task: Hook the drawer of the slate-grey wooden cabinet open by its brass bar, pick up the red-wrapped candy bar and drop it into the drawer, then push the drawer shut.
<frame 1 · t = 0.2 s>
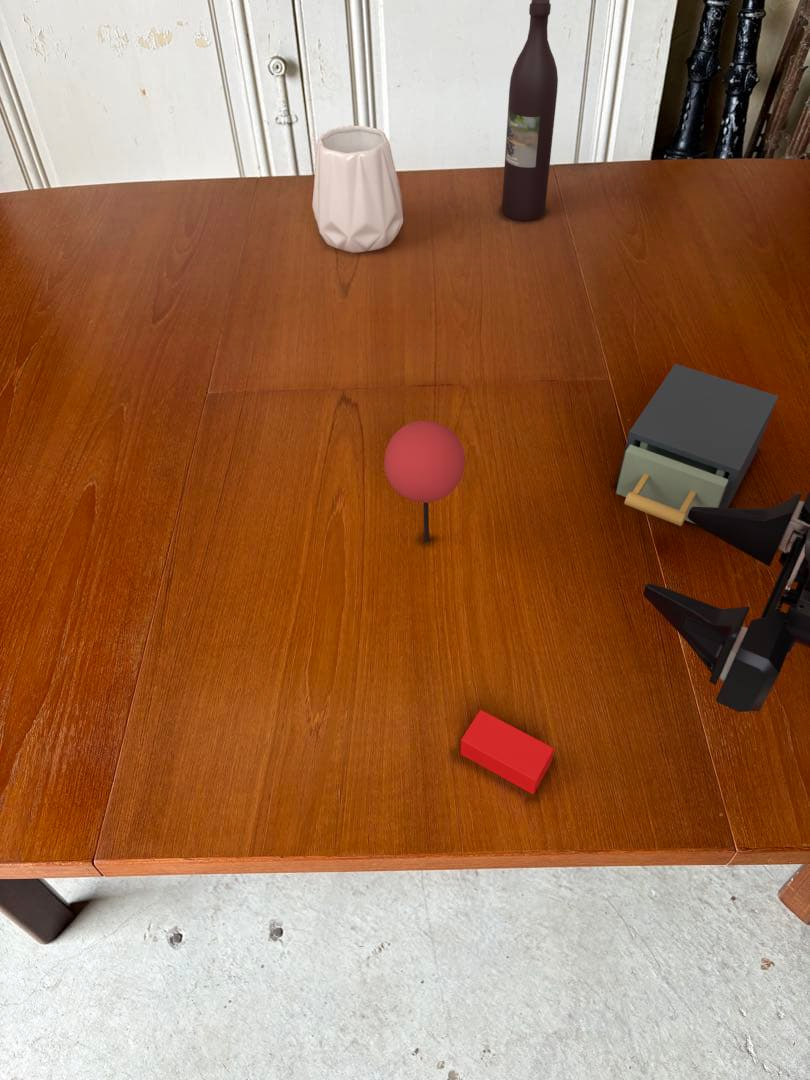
hand: (668, 548, 62), 18 cm above the table, tool horizontal, fingers open, 9 cm apart
drawer: (680, 468, 87), point 4 cm above the table, slide at 0.8 cm
wine bottle: (523, 212, 134), on the table
vase: (359, 237, 130), on the table
cabinet: (687, 468, 93), on the table
candy bar: (505, 758, 70), on the table
lollipop: (425, 540, 87), on the table
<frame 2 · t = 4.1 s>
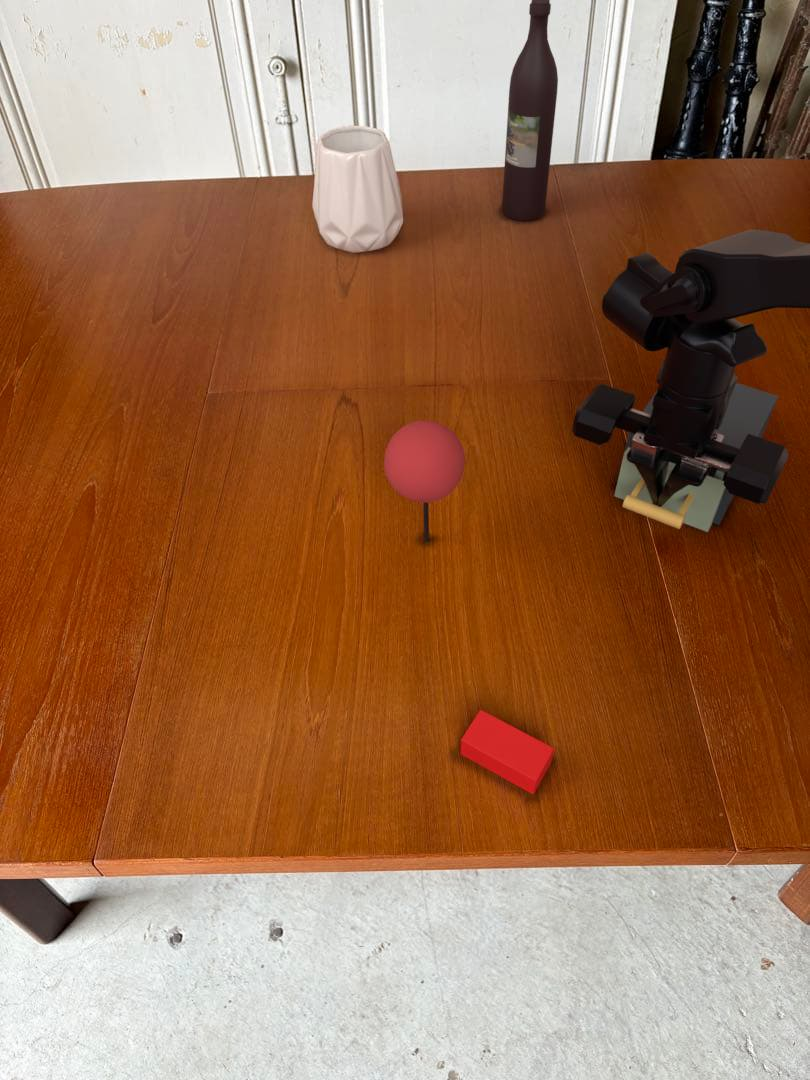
hand: (658, 503, 82), 5 cm above the table, tool pointing down, fingers closed, pressing on drawer
drawer: (679, 470, 87), point 4 cm above the table, slide at 1.3 cm, touching gripper
everything else where it was.
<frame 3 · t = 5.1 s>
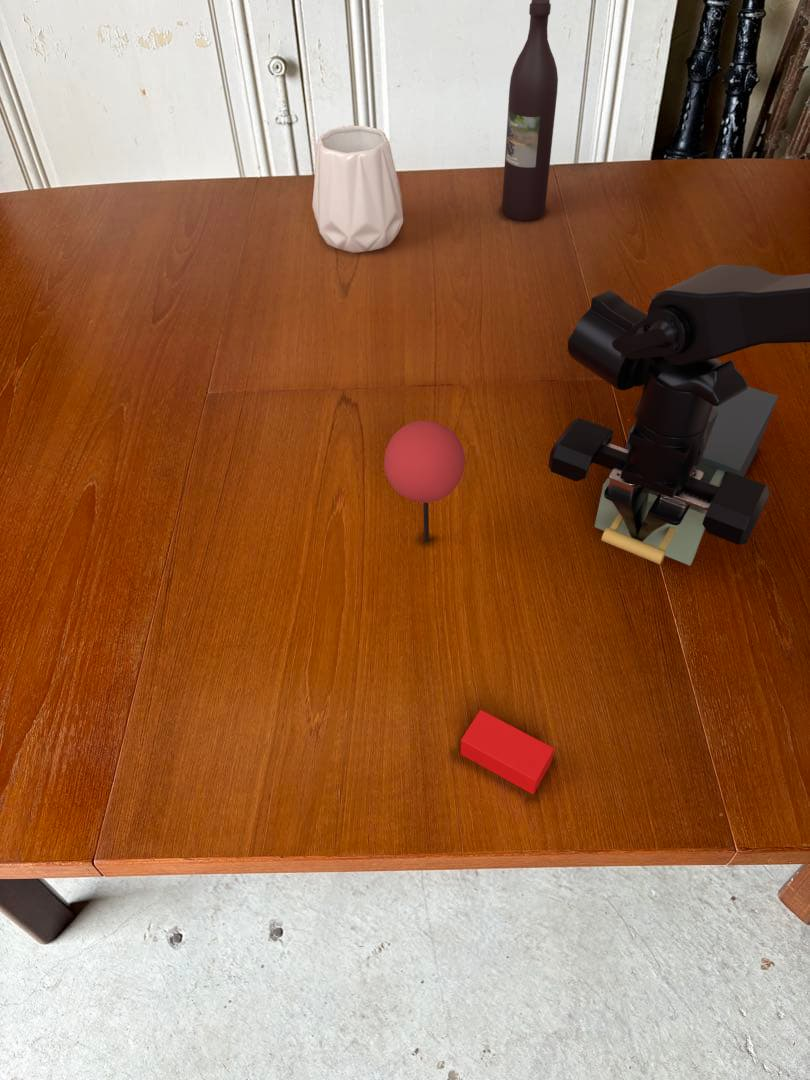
hand: (638, 539, 80), 5 cm above the table, tool pointing down, fingers closed, pressing on drawer
drawer: (661, 501, 84), point 4 cm above the table, slide at 6.6 cm, touching gripper
everything else where it was.
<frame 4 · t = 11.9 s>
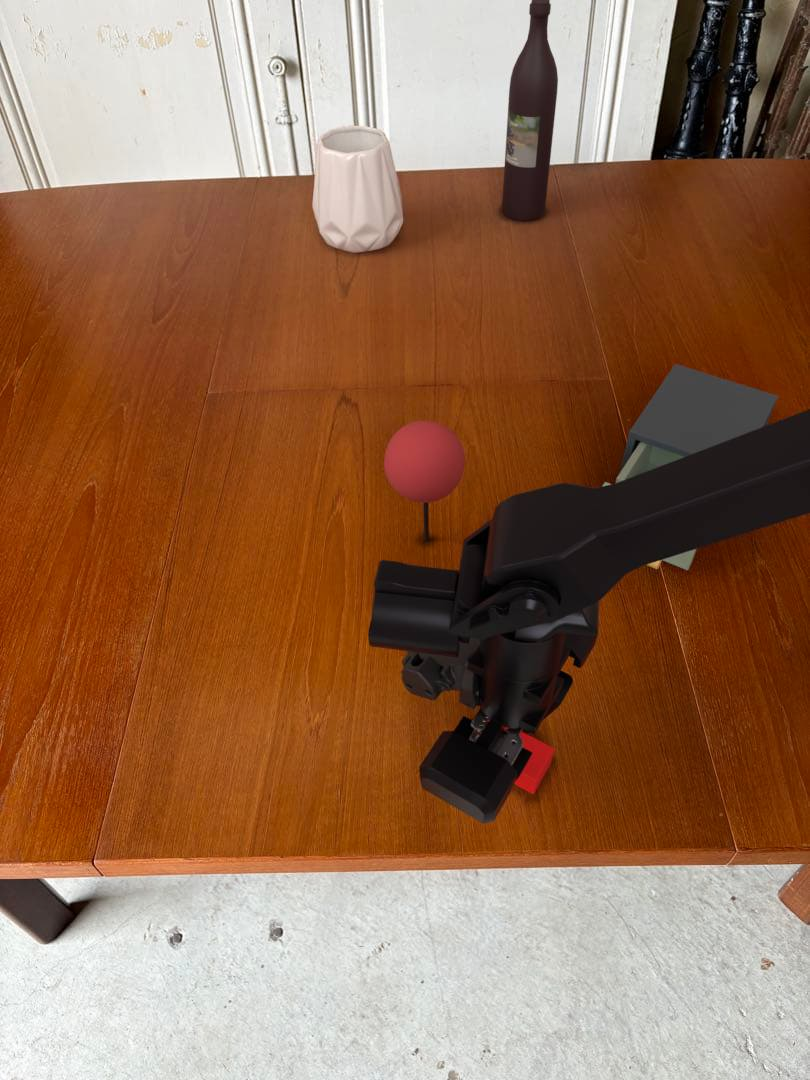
hand: (506, 751, 69), 1 cm above the table, tool pointing down, fingers closed on candy bar, 3 cm apart
drawer: (658, 505, 83), point 4 cm above the table, slide at 7.3 cm
candy bar: (505, 758, 70), on the table, touching gripper
everything else where it was.
when the fingers open (6 cm above the table, at t = 18.0 s): candy bar drops 3 cm, resting on drawer.
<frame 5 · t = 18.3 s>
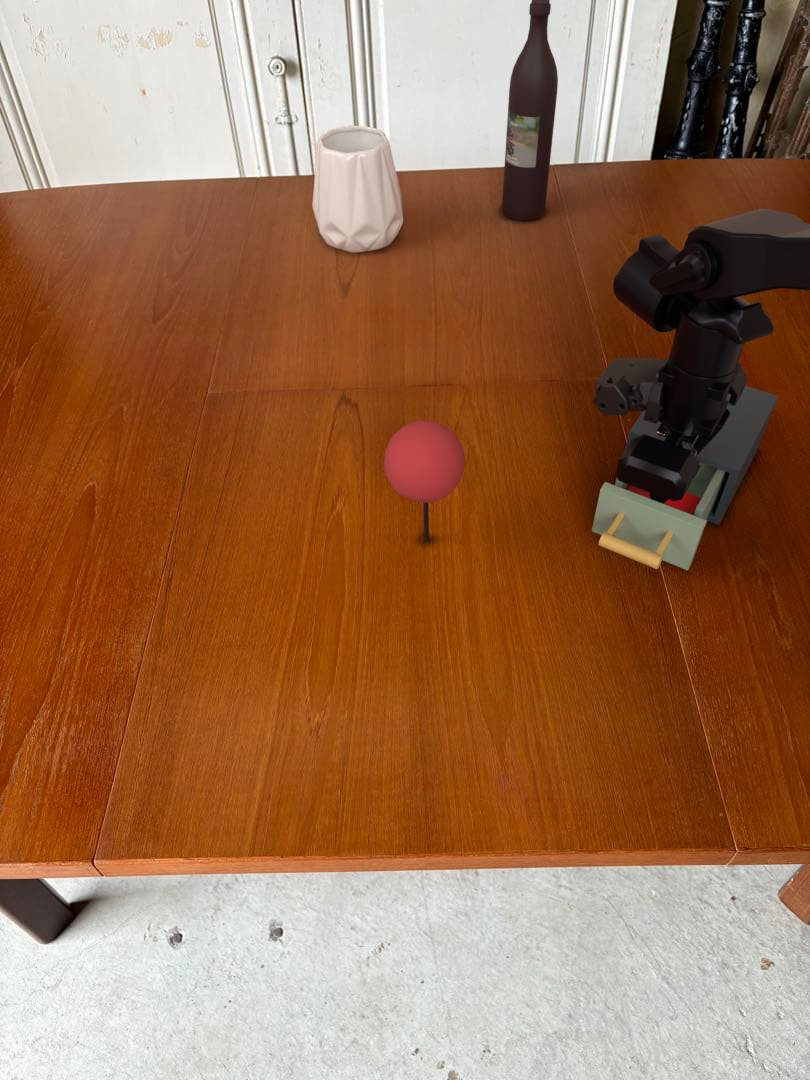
hand: (665, 487, 82), 6 cm above the table, tool pointing down, fingers open, 5 cm apart
drawer: (658, 505, 83), point 4 cm above the table, slide at 7.3 cm, touching candy bar
candy bar: (657, 512, 85), point 2 cm above the table, touching drawer
everything else where it was.
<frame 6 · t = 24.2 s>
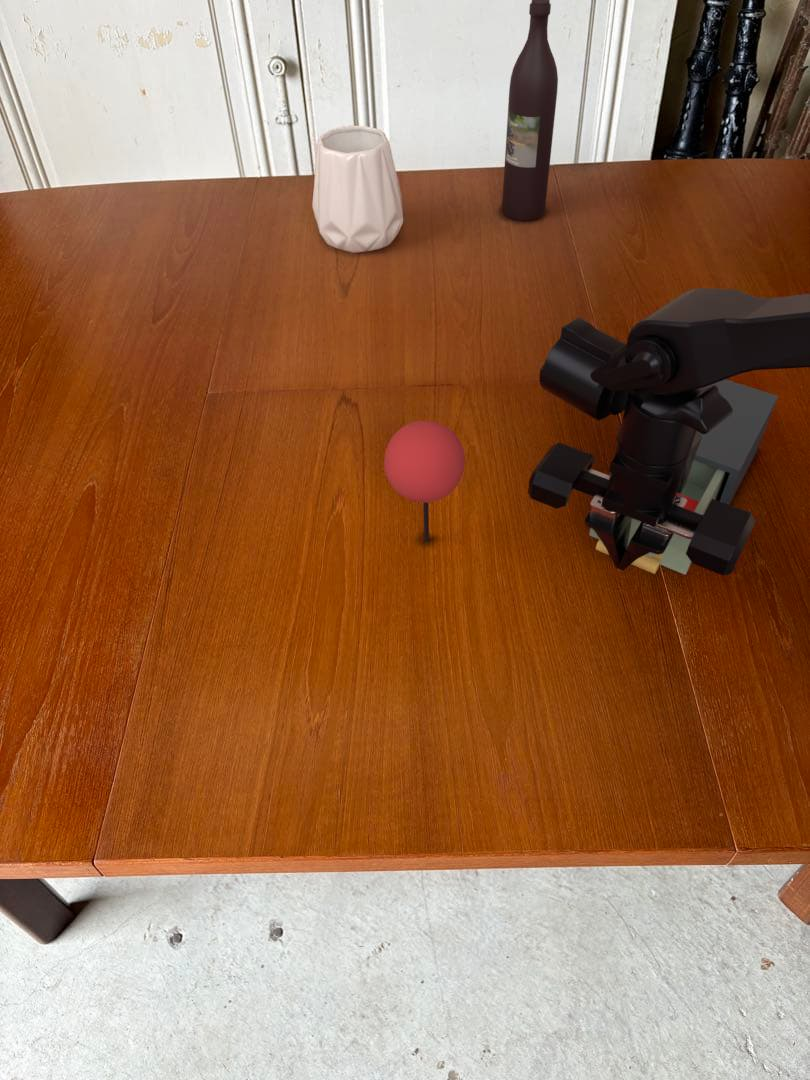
hand: (621, 566, 78), 5 cm above the table, tool pointing down, fingers closed, pressing on drawer
drawer: (656, 509, 83), point 4 cm above the table, slide at 8.0 cm, touching candy bar, gripper
everything else where it was.
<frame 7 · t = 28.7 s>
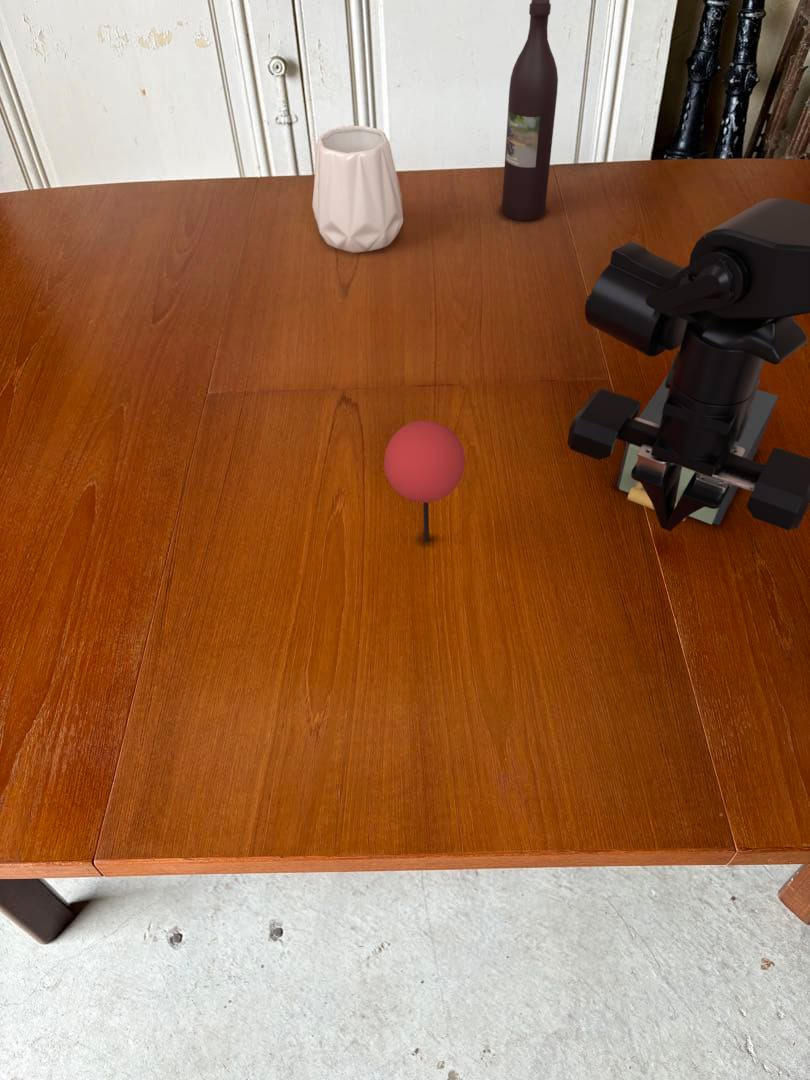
hand: (667, 526, 71), 12 cm above the table, tool pointing down, fingers closed
drawer: (683, 463, 87), point 4 cm above the table, slide at 0.0 cm, touching cabinet, candy bar
candy bar: (682, 471, 89), point 2 cm above the table, touching drawer
everything else where it was.
at the end: drawer pulled out 8.6 cm at the most during the clip, back to where it started at the end; candy bar inside the target area in the cabinet (3.0 cm from its centre), point 2.0 cm above the cabinet's base; drawer slide at 0.0 cm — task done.
